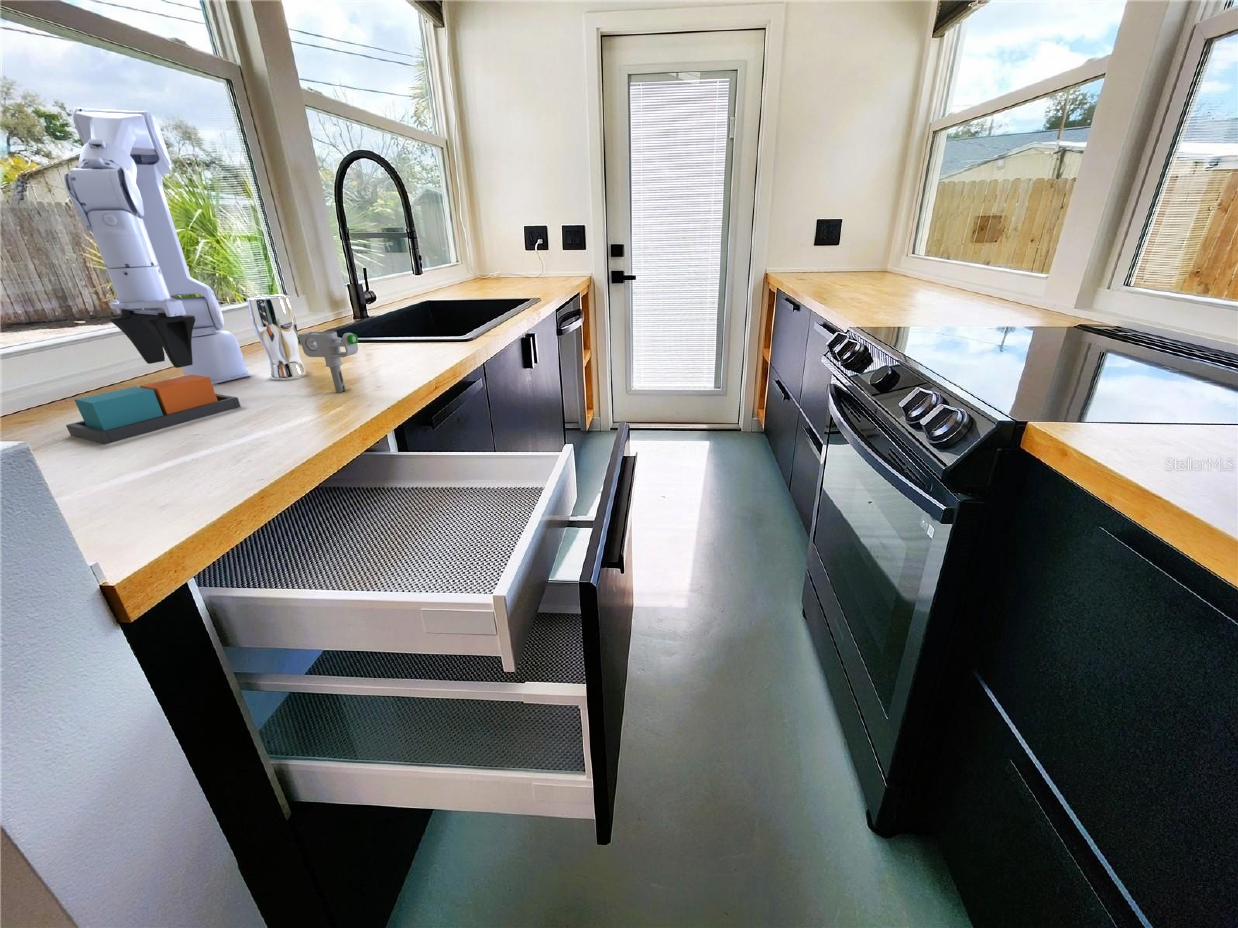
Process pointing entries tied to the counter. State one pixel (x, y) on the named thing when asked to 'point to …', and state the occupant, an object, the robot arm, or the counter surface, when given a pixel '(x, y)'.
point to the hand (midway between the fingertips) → (169, 364)
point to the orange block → (182, 393)
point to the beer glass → (277, 335)
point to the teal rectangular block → (118, 408)
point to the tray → (152, 422)
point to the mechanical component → (330, 351)
